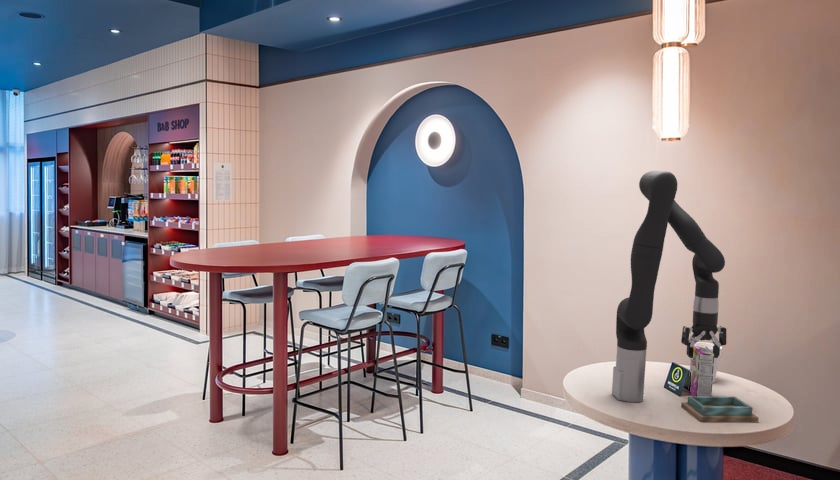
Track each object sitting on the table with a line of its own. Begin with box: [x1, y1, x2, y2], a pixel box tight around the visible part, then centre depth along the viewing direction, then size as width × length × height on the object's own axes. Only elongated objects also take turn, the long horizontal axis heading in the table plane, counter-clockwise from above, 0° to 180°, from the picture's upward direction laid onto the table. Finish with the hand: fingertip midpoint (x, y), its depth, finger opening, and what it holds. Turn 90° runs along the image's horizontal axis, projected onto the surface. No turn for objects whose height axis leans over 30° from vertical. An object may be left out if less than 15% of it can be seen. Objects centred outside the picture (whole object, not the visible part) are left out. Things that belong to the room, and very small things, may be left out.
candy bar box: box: [689, 345, 714, 396], centre depth 202 cm, size 11×5×16 cm, turn 168°
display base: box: [680, 395, 759, 423], centre depth 187 cm, size 18×12×4 cm, turn 93°
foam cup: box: [695, 341, 723, 384], centre depth 219 cm, size 10×9×13 cm
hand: (702, 357), depth 201 cm, fingers open, 8 cm apart
